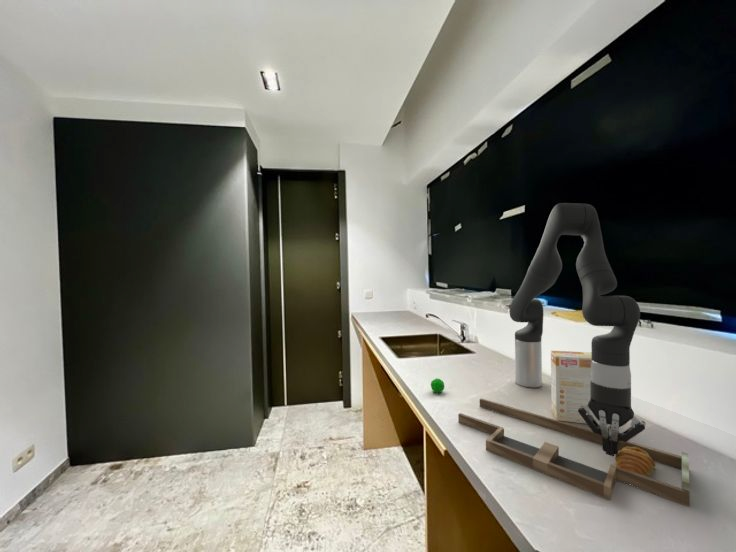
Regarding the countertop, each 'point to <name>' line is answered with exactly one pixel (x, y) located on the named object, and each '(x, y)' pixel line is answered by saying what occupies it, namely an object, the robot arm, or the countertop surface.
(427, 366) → the countertop surface
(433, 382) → the polyhedron
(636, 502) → the countertop surface
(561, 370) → the coffeecake box
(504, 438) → the mats
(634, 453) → the pastry
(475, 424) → the lane
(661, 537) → the countertop surface
